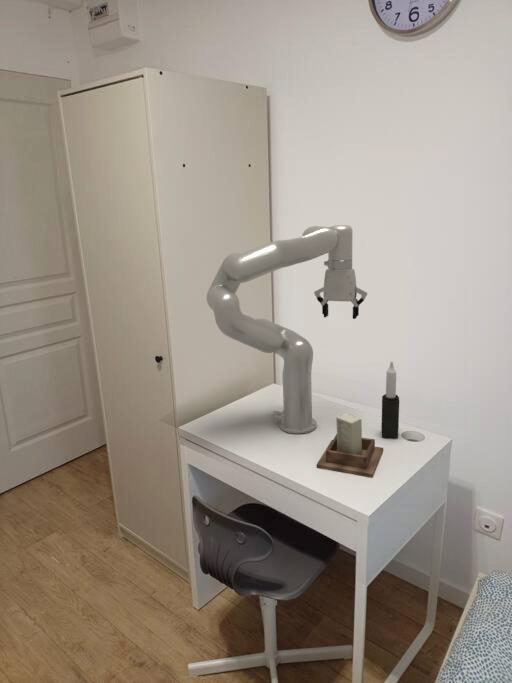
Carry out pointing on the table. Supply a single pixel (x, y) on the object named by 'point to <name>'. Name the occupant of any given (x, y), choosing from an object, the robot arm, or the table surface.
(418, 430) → the table surface
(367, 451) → the tray
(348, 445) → the skincare box
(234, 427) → the table surface
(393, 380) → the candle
